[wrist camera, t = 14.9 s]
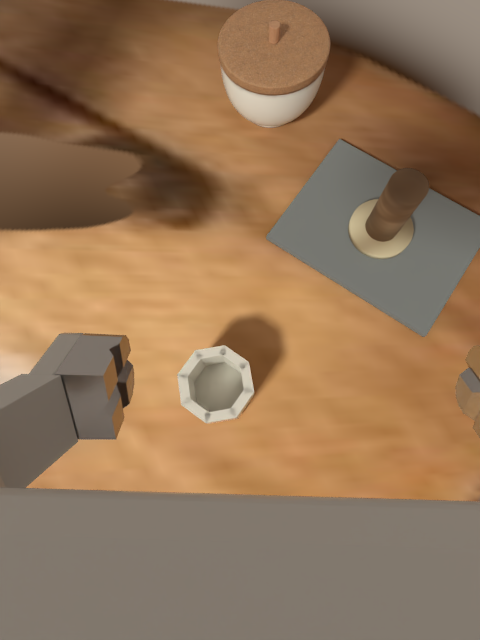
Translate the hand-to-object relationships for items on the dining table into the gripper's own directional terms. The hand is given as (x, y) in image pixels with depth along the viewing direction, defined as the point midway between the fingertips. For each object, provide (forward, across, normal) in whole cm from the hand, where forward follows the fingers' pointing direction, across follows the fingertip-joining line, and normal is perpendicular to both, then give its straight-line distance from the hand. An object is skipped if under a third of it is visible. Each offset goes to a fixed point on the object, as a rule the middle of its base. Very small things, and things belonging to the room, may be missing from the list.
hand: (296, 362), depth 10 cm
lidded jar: (+43, -1, -4) cm, 44 cm away
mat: (+32, -12, +7) cm, 35 cm away
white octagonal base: (+20, +3, +19) cm, 28 cm away
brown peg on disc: (+31, -12, +7) cm, 34 cm away
